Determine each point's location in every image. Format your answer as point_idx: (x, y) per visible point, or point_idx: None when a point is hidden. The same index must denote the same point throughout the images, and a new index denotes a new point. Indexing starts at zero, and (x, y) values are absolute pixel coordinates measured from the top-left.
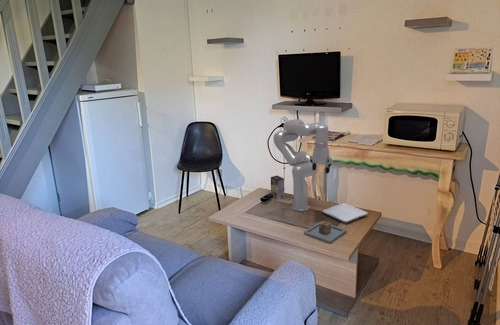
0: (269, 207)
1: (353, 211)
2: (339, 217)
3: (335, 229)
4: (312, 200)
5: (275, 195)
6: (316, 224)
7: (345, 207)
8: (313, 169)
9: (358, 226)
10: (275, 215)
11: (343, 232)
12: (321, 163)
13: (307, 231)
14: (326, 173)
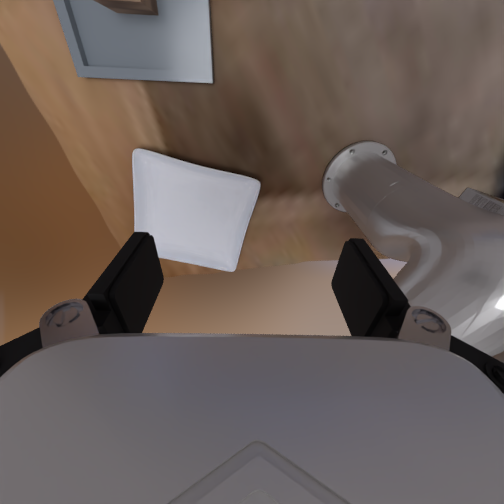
0: (496, 95)
1: (186, 247)
2: (192, 184)
3: (126, 64)
4: (339, 251)
5: (492, 196)
6: (206, 30)
7: (221, 256)
8: (352, 247)
9: (103, 164)
10: (447, 18)
11: (69, 43)
12: (146, 340)
13: None
14: (136, 232)
